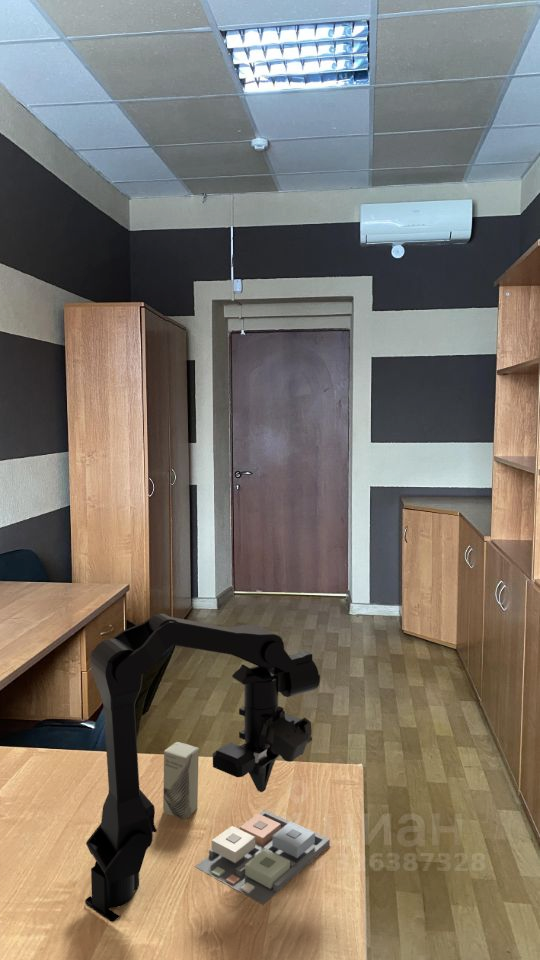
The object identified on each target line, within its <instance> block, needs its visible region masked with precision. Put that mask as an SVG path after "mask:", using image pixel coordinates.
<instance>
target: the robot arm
mask: <svg viewBox="0 0 540 960" xmlns="http://www.w3.org/2000/svg"><path fill="white" fill-rule="evenodd" d="M172 646H176V647H182V648H189V649H194V650H200V651H201V650H202V651H207V652H211V653H212V652H213V653H217V654H218V653H219V654H226V655H231V656H234V657H237V658H239V659H241V660H244V662H248V663H249V664H252V665H254V666H251V667H248V666H246V665H245V664H241V665H240V667H239V668H238V669H237V670H235V672H234V673H233V674H232V679H234V681H237V682H239V683H240V684H241V685H243V687H244V690H243V691H244V700H243V702H244V705H243V706H242V707H239V708H238V714H239V715H240V716H243V719H244V722H243V723H244V724H243V726H244V729H242V730H241V731H239V732H238V734H239V735H238V738H239V739H241V740H245V742H244V743H243V744H241V745H238V744H236V743H233V742H229V743H227V744H225V745H223V746H221V747H220V748H218V749H217V750H216V751H214V752H213V753H212V767H213V768H214V769H216V770H219V771H221V772H223V773H226V774H228V775H231V776H232V777H234V778H243V777H244V776H246V775H247V774H248V775H249V777H250V778H251V780H252V782H253V784H254V786H255V789H256V791H258V792H260V793H264V792H265V791H266V788H267V787H268V783H269V779H270V777H271V775H272V771H273V767H274V765H275V761H276V760H277V759H278V758H279V757H281V758H282V759H283V761H286V762H288V763H291V762H293V761H295V760H296V758H298V757H299V756H302V755H303V754H304V752H305V750H306V747H307V745H308V744H309V743H311V742H312V741H313V738H312V732H313V729H312V722H311V721H310V720H309V719H307V718H306V717H303V718H299V717H297V716H293V715H290V714H287V713H286V712H285V710H284V707H282V706H279V693H281V695H282V696H283V697H285V698H289V697H293V696H296V695H300V694H303V693H307V692H308V693H309V692H312V691H315V690H317V689H318V688H319V686H320V683H321V675H320V674H319V670H318V667H317V665H316V663H315V662H314V661H313V654H312V653H310V652H308V651H306V650H304V651H299V652H298V653H296V654H291V655H289V654H288V653H287V651H286V650H285V643H284V641H283V637H281V636H280V635H278V634H276V633H274V632H272V631H270V630H268V629H266V628H264V627H261V626H259V625H256V624H245V625H243V624H241V625H237V626H234V627H233V626H232V627H226V626H220V625H215V624H210V623H205V622H199V621H194V620H189V619H183V618H179V617H178V618H177V617H173V616H169V615H168V614H165V613H157V614H154V615H152V616H151V617H149V618H148V619H146V620H145V621H144V622H141V623H139V624H136V625H134V626H132V627H129V628H126V629H124V630H122V631H121V632H119V633H118V634H116V635H115V636H113V637H112V638H107V639H104V640H102V641H100V642H99V643H98V644H97V645H96V646H95V648H94V649H93V650H91V653H90V659H89V662H90V667H91V672H92V675H93V678H94V681H95V682H94V683H95V685H96V687H97V690H98V693H99V695H100V697H101V700H102V704H103V717H104V719H103V721H104V733H105V736H104V737H105V747H106V748H105V751H106V764H107V779H108V781H107V782H108V784H107V785H108V793H107V796H106V799H105V800H104V803H103V806H102V811H101V812H102V813H101V819H100V820H101V822H100V823H99V825H98V826H97V827H96V829H95V830H94V832H92V834H91V836H90V837H89V838H88V839H87V841H86V842H85V844H86V846H87V849H88V851H89V853H90V855H92V857H93V858H94V860H95V863H94V866H93V867H91V868H90V870H91V871H90V875H91V876H90V877H91V878H90V879H91V882H90V883H91V884H90V885H91V896H88V897H87V898H86V899H85V900H84V904H85V906H86V905H87V907H89V908H90V909H92V910H93V911H94V912H96V913H98V914H99V915H100V916H102V917H104V918H105V919H106V920H107V921H110V923H111V922H115V921H116V920H118V919H119V918H120V917H121V915H119V914H117V913H116V912H114V911H113V910H112V909H114V908H116V909H117V908H119V907H122V906H125V905H126V904H128V903H129V902H130V901H131V900H132V899H133V898H134V896H135V891H137V890H138V888H139V887H140V872H141V868H142V865H143V862H144V860H145V856H146V853H147V850H148V848H150V847H151V846H152V842H153V838H154V834H153V833H157V831H158V829H157V828H156V825H155V815H156V814H155V813H156V812H155V811H156V810H155V805H154V804H153V803H152V802H151V800H150V799H149V798H148V797H147V795H146V794H144V792H143V791H142V790H141V789H140V776H139V757H138V754H139V753H138V740H137V723H136V722H137V721H136V720H137V719H136V701H137V699H138V697H139V695H140V694H139V693H140V692H141V689H142V684H143V675H144V674H145V673H146V672H147V671H149V670H150V669H152V668H153V667H154V666H156V664H157V663H158V662H159V661H160V659H161V658H162V656H163V655H164V654H165V652H166V651H168V649H170V648H171V647H172Z"/></svg>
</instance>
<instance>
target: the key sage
mask: <svg viewBox="0 0 540 960" xmlns="http://www.w3.org/2000/svg"><path fill="white" fill-rule="evenodd" d="M289 869H290V861H289V860H287V859H285V858H283V857H281V856H279V855H277V854H275V853H273V852H271V851H269V850H267V849H264V850H263V851H261V852H260V853H259V854H258V855H256V856H255V857H254V858H253V859H251V860H250V861H249V862H248V863H246V864H245V876H247V877H249V878H251V879H253V880H255V881H257V882H259V883H260V884H262V885H264V886H266V887H268V888H270V889H271V888H272V887H273V883H275V882H276V881H277V880H278V879H279V878H280V877H281V876H282V875H284V874H285V873H286V872H287V871H288V870H289Z"/></svg>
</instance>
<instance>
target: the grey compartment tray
mask: <svg viewBox="0 0 540 960" xmlns="http://www.w3.org/2000/svg"><path fill="white" fill-rule="evenodd" d="M258 814H260V815H263V816H265V817H267V818H269V819H271V820H274V821H276V822H278V823H280V824H281V829H282V828H283V827H284V826H285V825H287V824H288V823H289V822H291V821H290V820H288V819H285V818H284V817H281V816H279V815H276V814H274V813H272V812H270V811H268V810H266V809H263V810H262V811H260V812H259V813H258ZM238 829H240V827H239V828H238ZM330 841H331V840H330V838H328V837H326V836H324V835H322V834H319V833H317V832H315V843H314V844H313V845H312V846H311V847H309V848H308V849H307V850H306V851H305V852H304V853H303V854H301V855H300V856H299V857H298V858H296V857H294V856H292V855H290V854H288V853H286V852H284V851H281V850H279V849H277V848H275V847H273V846H272V840H271V841H270V842H269V843H268V844H266V845H265V846H264V847H262V846H260V845H258V844H256V843H255V848H254V849H253V850H251V851H250V852H249V853H247V854H246V855H245V856H244V857H242V858H241V859H240V860H239V861H237V862H236V863H234V862H232V861H231V860H229V859H227V858H225V857H223V856H221V855H219V854H217V853H215V852H213V851H212V847H211V848H210V849H208V856H207V857H205V858H204V859H203V860H201V861H200V862H199V863H197V864H196V865H195V866H194V868H195V869H198V870H199V871H201V872H203V873H205V874H207V875H208V876H210V877H212V878H214V879H216V880H218V881H220V882H221V883H223V884H225V885H227V886H229V887H230V888H232V889H234V890H236V891H237V892H239V893H241V894H243V895H245V896H246V897H248V898H250V899H251V900H253V901H255V902H257V903H259V904H261V905H262V906H264V905H265V904H266V903H268V901H270V899H272V898H273V897H274V896H275V895H276V894H277V893H278V892H280V891H281V890H282V889H283V888H284V887H285V886H286V885H287V884H288V883H289V882H290V881H291V880H293V878H295V877H296V876H297V875H298V874H300V872H302V871H303V870H304V869H305V868H306V867H307V866H308V865H309V864H310V863H311V862H313V861H314V860H315V859H316V858H317V857H318V856H319V855H320V854H322V853H323V852H324V851H326V849H327V848H328V847H330V844H331V843H330ZM264 849H267V850H269V851H271V852H273V853H275V854H277V855H279V856H281V857H283V858H285V859H287V860H289V861H290V869H289V870H288V871H287V872H286V873H285V874H284V875H282V876H281V877H280V878H279V879H278V880H277V881H276V882H275V883H273V887H272V888H271V889H270V888H268V887H266V886H264V885H262V884H260V883H259V882H257V881H255V880H253V879H251V878H249V877H247V876H245V864H246V863H248V862H249V861H250V860H251V859H253V858H254V857H255V856H256V855H258V854H259V853H260V852H261V851H263V850H264Z"/></svg>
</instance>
